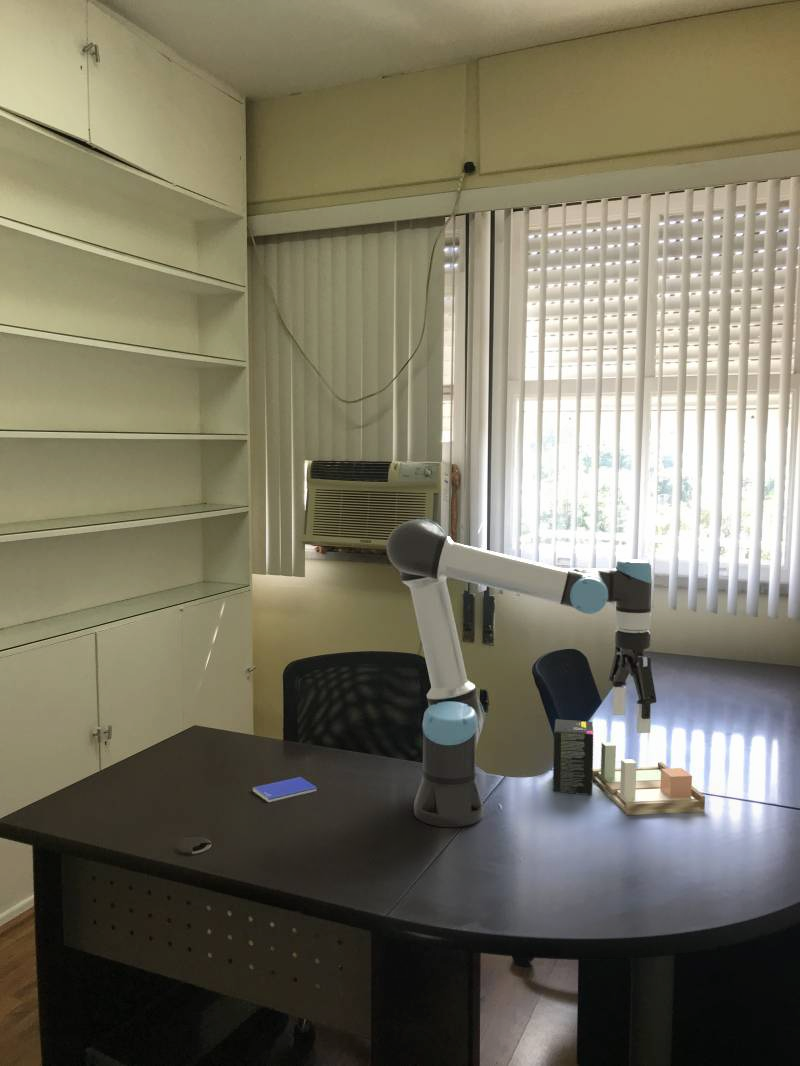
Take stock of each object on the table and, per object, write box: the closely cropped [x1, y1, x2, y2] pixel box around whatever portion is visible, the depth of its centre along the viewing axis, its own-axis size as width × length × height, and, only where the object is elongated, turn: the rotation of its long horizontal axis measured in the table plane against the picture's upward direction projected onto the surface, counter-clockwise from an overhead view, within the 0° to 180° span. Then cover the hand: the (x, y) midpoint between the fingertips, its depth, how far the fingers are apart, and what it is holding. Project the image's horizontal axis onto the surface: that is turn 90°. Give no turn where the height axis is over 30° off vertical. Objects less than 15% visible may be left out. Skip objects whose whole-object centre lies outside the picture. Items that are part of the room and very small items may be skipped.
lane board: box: [592, 761, 706, 816], centre depth 200 cm, size 18×22×4 cm
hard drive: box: [252, 776, 317, 803], centre depth 200 cm, size 2×8×12 cm
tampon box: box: [552, 718, 594, 795], centre depth 205 cm, size 11×9×15 cm
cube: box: [660, 767, 693, 798], centre depth 194 cm, size 5×5×5 cm
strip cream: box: [617, 758, 696, 803], centre depth 194 cm, size 16×7×9 cm, turn 98°
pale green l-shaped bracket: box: [598, 741, 661, 783], centre depth 205 cm, size 16×7×9 cm, turn 98°
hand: (630, 723), depth 192 cm, fingers open, 13 cm apart
